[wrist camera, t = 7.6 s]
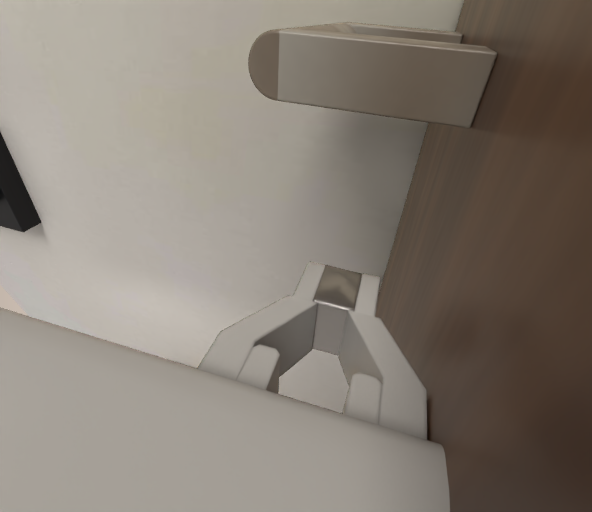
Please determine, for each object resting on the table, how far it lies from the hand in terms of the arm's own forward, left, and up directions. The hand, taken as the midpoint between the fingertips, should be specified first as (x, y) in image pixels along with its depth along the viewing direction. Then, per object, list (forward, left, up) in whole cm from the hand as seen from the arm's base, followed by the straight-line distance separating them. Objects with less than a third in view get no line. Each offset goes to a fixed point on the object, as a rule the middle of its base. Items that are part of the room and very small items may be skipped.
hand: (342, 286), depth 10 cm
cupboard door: (+5, 0, -15) cm, 16 cm away
